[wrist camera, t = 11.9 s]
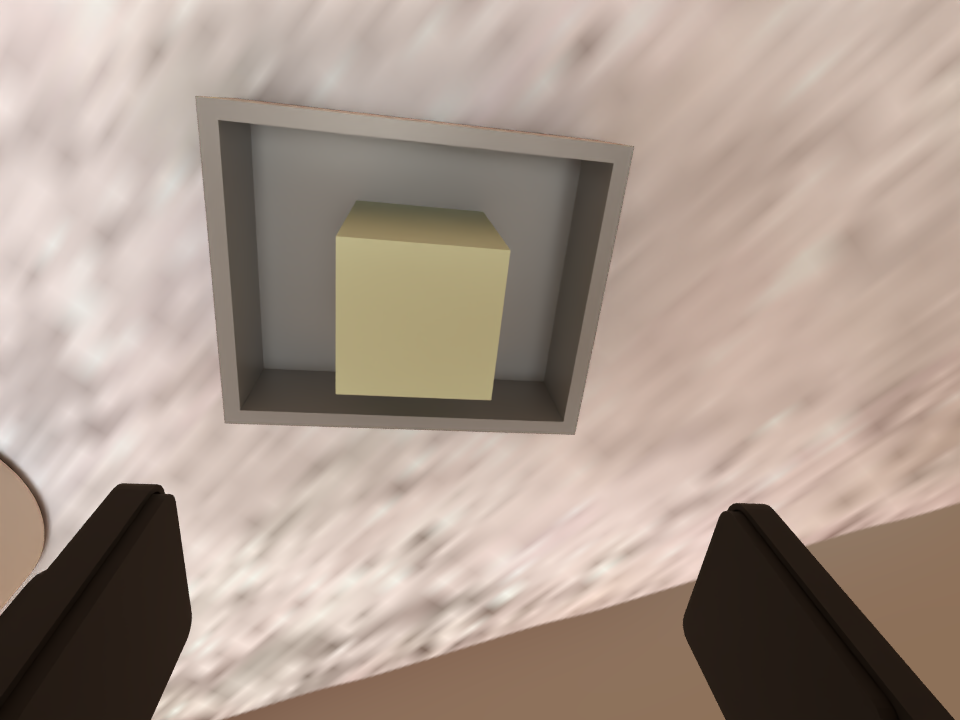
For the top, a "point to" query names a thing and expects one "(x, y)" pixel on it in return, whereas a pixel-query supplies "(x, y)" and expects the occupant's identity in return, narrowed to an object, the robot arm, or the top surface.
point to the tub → (408, 181)
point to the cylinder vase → (17, 533)
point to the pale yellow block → (418, 302)
